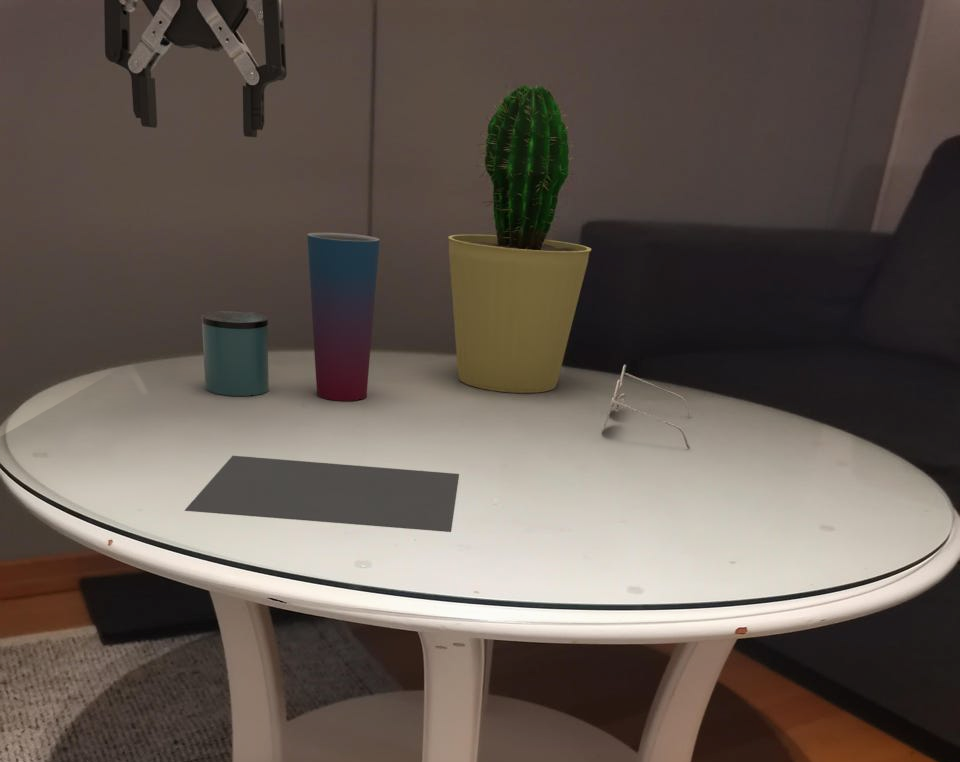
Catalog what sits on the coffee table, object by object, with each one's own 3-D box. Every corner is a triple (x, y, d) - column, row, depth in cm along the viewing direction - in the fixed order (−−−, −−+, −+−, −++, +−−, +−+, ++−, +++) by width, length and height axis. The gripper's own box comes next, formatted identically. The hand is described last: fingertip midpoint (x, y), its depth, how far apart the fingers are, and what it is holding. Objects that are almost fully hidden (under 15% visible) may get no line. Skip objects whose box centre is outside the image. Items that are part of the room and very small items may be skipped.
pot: (197, 393, 95) (193, 319, 92) (227, 369, 105) (224, 301, 102) (261, 398, 95) (259, 324, 92) (285, 374, 106) (284, 306, 102)
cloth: (184, 515, 66) (184, 510, 65) (232, 460, 77) (232, 455, 77) (450, 536, 66) (451, 531, 66) (458, 478, 77) (459, 473, 77)
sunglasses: (611, 406, 104) (625, 360, 101) (687, 429, 103) (703, 382, 101) (598, 439, 91) (614, 387, 89) (685, 464, 91) (703, 413, 88)
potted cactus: (583, 376, 116) (618, 89, 103) (564, 404, 103) (601, 78, 89) (458, 361, 119) (477, 79, 105) (424, 386, 105) (439, 66, 92)
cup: (318, 404, 95) (318, 239, 88) (300, 387, 100) (299, 231, 94) (384, 402, 98) (389, 242, 91) (363, 386, 103) (366, 234, 96)
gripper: (292, -83, 79) (292, 141, 86) (115, -102, 78) (129, 124, 86) (274, -106, 72) (275, 140, 79) (80, -127, 72) (98, 122, 79)
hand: (199, 132), depth 82 cm, fingers open, 8 cm apart
